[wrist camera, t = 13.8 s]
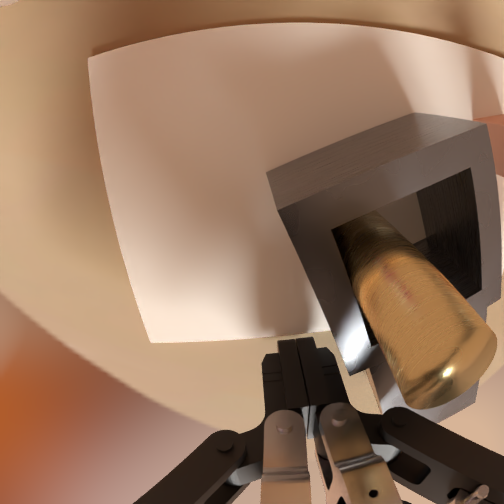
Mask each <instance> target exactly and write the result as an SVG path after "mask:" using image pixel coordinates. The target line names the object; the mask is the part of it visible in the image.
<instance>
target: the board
mask: <svg viewBox="0 0 504 504" xmlns="http://www.w3.org/2000/svg"><path fill="white" fill-rule="evenodd" d="M88 71H89V82H90V92H91V100H92V109H93V116H94V123H95V130H96V137H97V143H98V149H99V155H100V160H101V166H102V171H103V176H104V181H105V186H106V191H107V195H108V200H109V204H110V209H111V213H112V217H113V221H114V225H115V229H116V233H117V237H118V241H119V245H120V249H121V252H122V256H123V259H124V263H125V266H126V270H127V273H128V277H129V280H130V283H131V286H132V290H133V293H134V296H135V299H136V302H137V305H138V308H139V311H140V314H141V317H142V320H143V323H144V326H145V328H146V331H147V334H148V337H149V340H150V342H151V343H170V342H199V341H219V340H235V339H249V338H262V337H273V336H284V335H294V334H303V333H312V332H320V331H328V330H330V327H329V325H328V323H327V320H326V318H325V316H324V313H323V311H322V309H321V306H320V304H319V302H318V299H317V297H316V295H315V293H314V290H313V288H312V286H311V284H310V281H309V279H308V277H307V275H306V272H305V270H304V268H303V266H302V263H301V261H300V259H299V257H298V255H297V252H296V250H295V248H294V246H293V244H292V241H291V239H290V237H289V235H288V233H287V231H286V228H285V226H284V224H283V222H282V220H281V218H280V216H279V214H278V211H277V209H276V205H275V202H274V198H273V195H272V191H271V188H270V185H269V181H268V178H267V175H266V172H268V171H270V170H272V169H274V168H277V167H279V166H281V165H283V164H286V163H288V162H290V161H292V160H295V159H297V158H299V157H302V156H304V155H306V154H309V153H311V152H313V151H316V150H318V149H321V148H323V147H325V146H328V145H330V144H333V143H335V142H338V141H340V140H342V139H345V138H347V137H350V136H352V135H355V134H358V133H360V132H363V131H365V130H368V129H370V128H373V127H376V126H378V125H381V124H384V123H386V122H389V121H392V120H394V119H397V118H400V117H403V116H405V115H408V114H411V113H414V112H416V113H424V114H432V115H440V116H447V117H453V118H459V119H465V120H471V121H473V119H477V118H483V117H489V116H495V115H501V114H504V58H501V57H499V56H496V55H493V54H490V53H487V52H484V51H481V50H478V49H475V48H471V47H468V46H465V45H461V44H458V43H454V42H450V41H446V40H442V39H438V38H434V37H429V36H424V35H420V34H414V33H409V32H403V31H398V30H391V29H384V28H377V27H368V26H359V25H347V24H332V23H265V24H249V25H237V26H228V27H219V28H211V29H204V30H198V31H191V32H186V33H180V34H175V35H170V36H165V37H160V38H156V39H151V40H147V41H143V42H139V43H135V44H131V45H128V46H124V47H121V48H117V49H114V50H110V51H107V52H104V53H101V54H98V55H95V56H92V57H89V58H88ZM496 178H497V186H498V195H499V205H500V218H501V238H502V273H503V270H504V177H502V176H499V175H497V174H496ZM376 211H377V212H378V213H379V214H381V215H382V216H383V217H384V218H385V219H386V220H387V221H388V222H389V223H390V224H392V225H393V226H394V227H395V228H396V229H397V230H398V231H399V232H400V233H401V234H402V235H403V236H404V237H405V238H406V239H407V240H409V241H410V242H411V243H412V244H414V243H416V242H418V241H420V240H422V239H424V238H426V235H425V230H424V225H423V220H422V215H421V211H420V206H419V202H418V198H417V194H416V192H414V193H412V194H410V195H408V196H405V197H403V198H401V199H399V200H396V201H394V202H392V203H390V204H387V205H385V206H383V207H381V208H378V209H376Z"/></svg>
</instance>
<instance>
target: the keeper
mask: <svg viewBox="0 0 504 504" xmlns="http://www.w3.org/2000/svg"><path fill="white" fill-rule="evenodd" d="M473 121H476V122H481V123H486V124H487V128H488V132H489V137H490V142H491V147H492V152H493V158H494V164H495V171H496V174H497V175H499V176H502V177H504V114H501V115H495V116H489V117H483V118H477V119H473Z"/></svg>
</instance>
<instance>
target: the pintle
mask: <svg viewBox="0 0 504 504" xmlns="http://www.w3.org/2000/svg"><path fill="white" fill-rule="evenodd" d="M331 231H332V234H333V237H334V239H335V242H336V244H337V247H338V250H339V252H340V255H341V258H342V261H343V263H344V266H345V269H346V272H347V275H348V277H349V280H350V283H351V286H352V289H353V292H354V295H355V297H356V299H357V301H358V303H359V305H360V307H361V309H362V311H363V313H364V315H365V317H366V319H367V321H368V323H369V325H370V327H371V329H372V331H373V333H374V335H375V337H376V339H377V341H378V344H379V346H380V348H381V350H382V352H383V354H384V356H385V358H386V361H387V363H388V365H389V367H390V369H391V372H392V374H393V376H394V378H395V381H396V383H397V385H398V387H399V390H400V392H401V394H402V397H403V399H404V401H405V403H406V404H407V406H409V407H411V408H413V409H418V410H424V409H431V408H435V407H438V406H441V405H443V404H445V403H448V402H450V401H451V400H453V399H455V398H457V397H458V396H460V395H461V394H463V393H464V392H465V391H467V390H468V389H469V388H470V387H471V386H472V385H474V384H475V383H476V382H477V381H478V380H479V378H480V377H481V376H482V375H483V374H484V372H485V371H486V370H487V368H488V367H489V365H490V364H491V362H492V360H493V358H494V355H495V352H496V348H497V338H496V335H495V334H494V332H493V331H492V330H491V329H490V327H489V326H488V325H487V324H486V323H485V321H484V320H483V319H482V318H481V317H480V316H479V314H478V313H477V312H476V311H475V310H474V309H473V307H472V306H471V305H470V304H469V303H468V302H467V301H466V300H465V298H464V297H463V296H462V295H461V294H460V293H459V292H458V291H457V290H456V288H455V287H454V286H453V285H452V284H451V283H450V282H449V281H448V280H447V279H446V278H445V277H444V276H443V275H442V274H441V273H440V271H439V270H438V269H437V268H436V267H435V266H434V265H433V264H432V263H431V262H430V261H429V260H428V259H427V258H426V257H425V256H424V255H423V254H422V253H421V252H420V251H419V250H418V249H417V248H416V247H415V246H414V245H413V244H412V243H411V242H410V241H409V240H407V239H406V238H405V237H404V236H403V235H402V234H401V233H400V232H399V231H398V230H397V229H396V228H395V227H394V226H393V225H392V224H390V223H389V222H388V221H387V220H386V219H385V218H384V217H383V216H382V215H381V214H379V213H378V212H377V211H376V210H374V211H372V212H369V213H367V214H365V215H363V216H360V217H358V218H356V219H353V220H351V221H349V222H347V223H344V224H342V225H340V226H337V227H335V228H333V229H331Z"/></svg>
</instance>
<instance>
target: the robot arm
mask: <svg viewBox="0 0 504 504" xmlns="http://www.w3.org/2000/svg"><path fill="white" fill-rule="evenodd" d="M277 347H278V353H273V354H266V355H265V357H264V359H263V362H262V375H263V388H264V401H265V417H264V420H263V421H262V423H261V424H260V425H259V426H257V427H256V428H254V429H252V430H250V431H247V432H244V433H241V434H238V433H237V432H235V431H231V430H221V431H217V432H215V433H213V434H211V435H210V436H209V437H208V438H207V439H206V440H205V441H204V442H203V443H202V444H201V445H200V446H198V447H197V448H196V449H195V450H194V451H193V452H192V453H191V454H190V455H189V456H188V457H187V458H186V459H184V460H183V461H182V462H181V463H180V464H179V465H178V466H177V467H176V468H175V469H173V470H172V471H171V472H170V473H169V474H168V475H167V476H165V477H164V478H163V479H162V480H161V481H160V482H158V483H157V484H156V485H155V486H154V487H153V488H151V489H150V490H149V491H148V492H147V493H145V494H144V495H143V496H142V497H140V498H139V499H138V500H137V501H136V502H134V503H133V504H232V502H233V501H234V500H235V499H236V498H237V497H238V496H239V495H240V494H241V493H242V492H243V490H245V488H246V487H247V486H248V485H249V484H250V483H251V482H252V481H255V480H258V479H261V502H260V504H311V487H310V475H309V472H308V465H307V449H306V434H307V439H311V438H314V441H315V446H316V447H315V457H316V460H317V464H318V467H319V471H320V474H321V478H322V482H323V486H324V489H325V494H326V504H411V503H409V502H407V501H403V500H401V498H400V496H399V493H398V491H397V488H396V486H395V484H394V481H393V480H395V481H396V482H398V483H400V484H401V485H403V486H405V487H407V488H408V489H410V490H412V491H414V492H415V493H417V494H419V495H421V496H423V497H425V498H427V499H428V500H430V501H432V502H434V503H436V504H504V456H502V455H500V454H498V453H496V452H493V451H491V450H489V449H487V448H485V447H483V446H481V445H479V444H476V443H474V442H472V441H470V440H468V439H466V438H464V437H462V436H460V435H458V434H456V433H454V432H452V431H450V430H448V429H446V428H444V427H442V426H440V425H438V424H436V423H434V422H433V421H431V420H429V419H427V418H425V417H423V416H421V415H419V414H417V413H415V412H414V411H412V410H410V409H408V408H405V407H393V408H390V409H388V410H387V411H385V412H384V414H383V415H380V414H367V413H362V412H360V411H358V410H356V409H355V408H354V407H353V406H352V405H351V404H350V402H349V399H348V396H347V393H346V390H345V387H344V384H343V381H342V377H341V374H340V371H339V368H338V366H337V362H336V359H335V356H334V354H333V353H332V352H331V351H330V350H329V349H328V348H327V347H324V348H316V345H315V341H314V338H313V337H307V338H298V339H290V340H280V341H277Z"/></svg>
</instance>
